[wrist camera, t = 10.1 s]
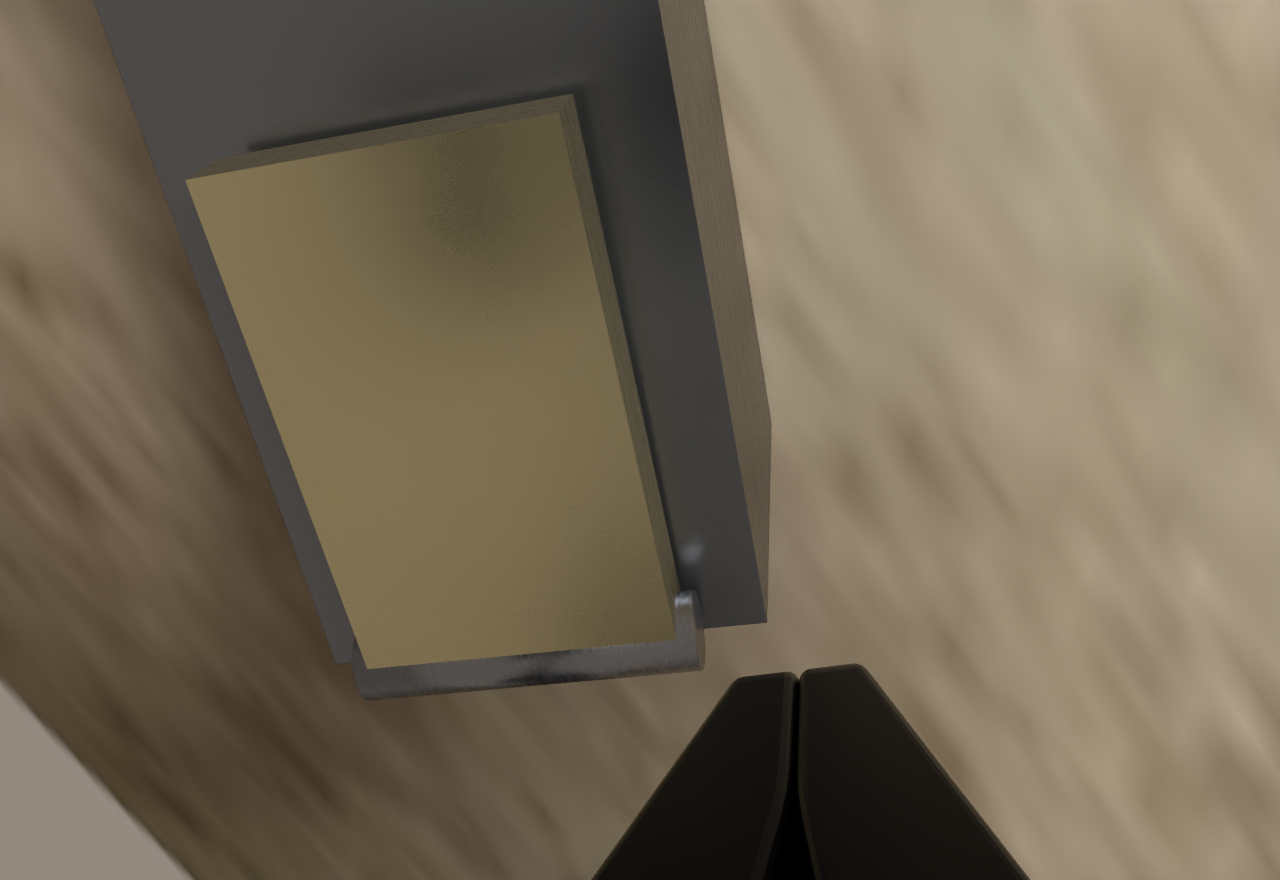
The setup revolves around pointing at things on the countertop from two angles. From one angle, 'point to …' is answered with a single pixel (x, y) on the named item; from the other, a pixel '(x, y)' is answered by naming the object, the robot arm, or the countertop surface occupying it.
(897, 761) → the robot arm
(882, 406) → the countertop surface
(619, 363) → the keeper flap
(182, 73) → the drawbar block
